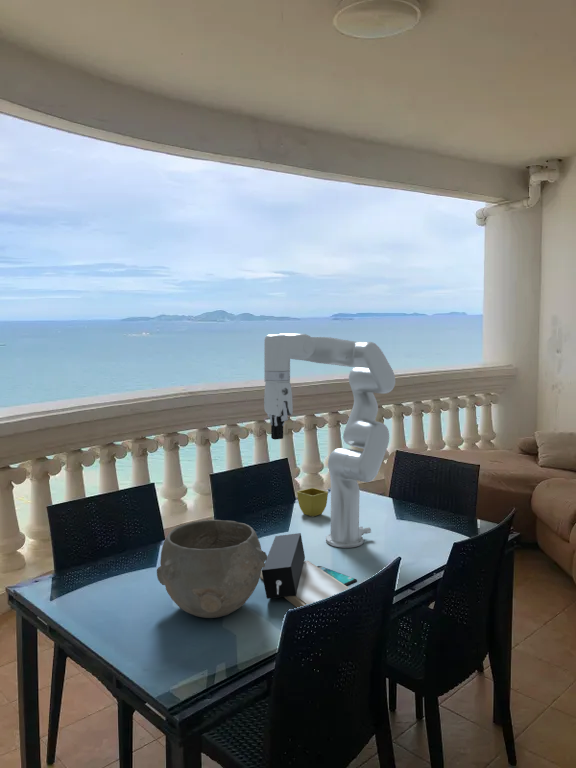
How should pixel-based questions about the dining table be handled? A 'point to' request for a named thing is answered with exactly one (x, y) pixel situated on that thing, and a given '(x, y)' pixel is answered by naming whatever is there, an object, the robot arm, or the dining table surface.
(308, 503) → the flower pot
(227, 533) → the bowl
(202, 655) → the dining table surface
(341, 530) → the robot arm
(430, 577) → the dining table surface
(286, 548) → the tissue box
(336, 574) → the smartphone
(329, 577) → the tray
